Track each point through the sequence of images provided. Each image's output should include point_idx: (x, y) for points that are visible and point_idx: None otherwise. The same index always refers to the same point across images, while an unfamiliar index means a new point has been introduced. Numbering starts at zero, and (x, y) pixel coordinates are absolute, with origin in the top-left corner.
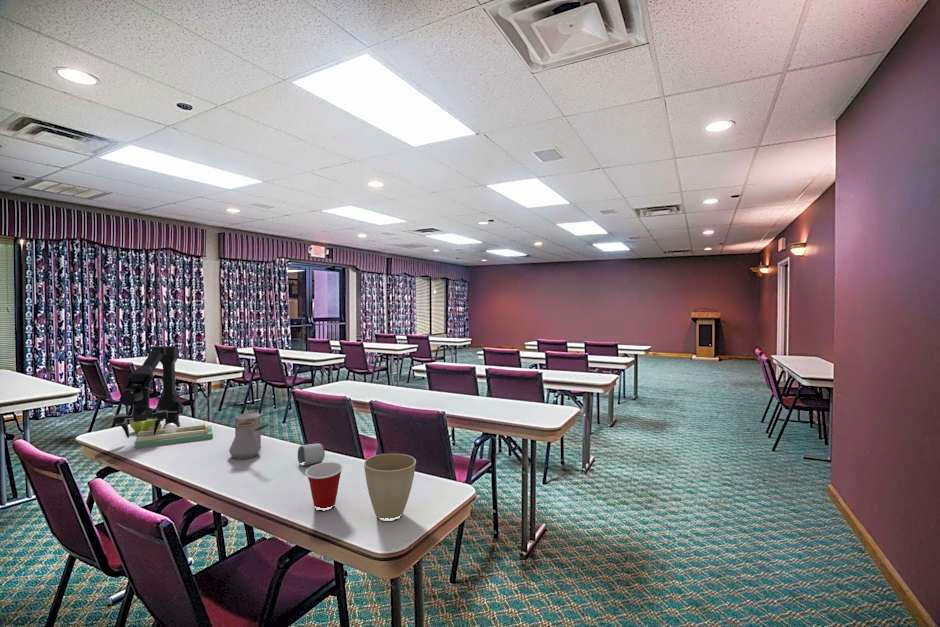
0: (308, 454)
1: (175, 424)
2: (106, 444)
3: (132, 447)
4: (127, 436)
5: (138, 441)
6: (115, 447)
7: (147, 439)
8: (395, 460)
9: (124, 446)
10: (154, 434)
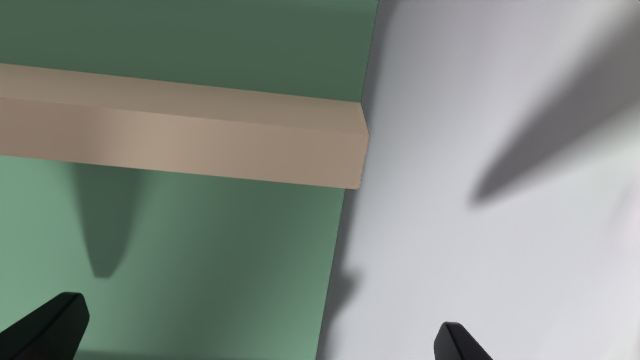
0: None
1: None
2: (587, 354)
3: (406, 61)
4: (474, 348)
5: (319, 96)
6: (579, 206)
7: (140, 87)
8: None
9: (482, 189)
10: (63, 299)
